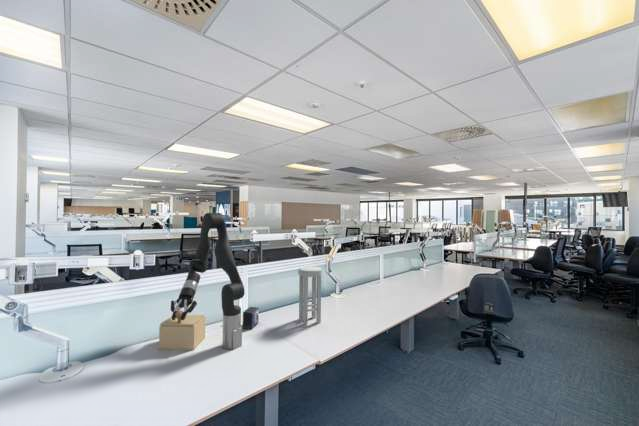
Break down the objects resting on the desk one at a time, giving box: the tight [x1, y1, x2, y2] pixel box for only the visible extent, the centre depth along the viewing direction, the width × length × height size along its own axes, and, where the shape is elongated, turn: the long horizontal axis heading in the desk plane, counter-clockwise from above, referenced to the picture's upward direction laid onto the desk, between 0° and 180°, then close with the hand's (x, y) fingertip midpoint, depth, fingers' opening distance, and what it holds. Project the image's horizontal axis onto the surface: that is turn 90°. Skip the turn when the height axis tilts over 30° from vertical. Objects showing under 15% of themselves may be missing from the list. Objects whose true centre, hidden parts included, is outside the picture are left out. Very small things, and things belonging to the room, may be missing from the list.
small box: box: [242, 306, 260, 330], centre depth 175 cm, size 11×6×10 cm, turn 168°
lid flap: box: [159, 310, 206, 326], centre depth 150 cm, size 14×17×7 cm
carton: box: [158, 316, 206, 351], centre depth 150 cm, size 14×18×12 cm
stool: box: [297, 266, 323, 326], centre depth 185 cm, size 16×16×35 cm
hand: (177, 319), depth 144 cm, fingers closed on lid flap, 4 cm apart
